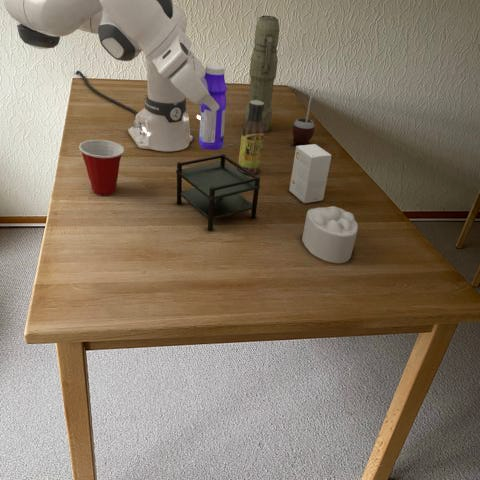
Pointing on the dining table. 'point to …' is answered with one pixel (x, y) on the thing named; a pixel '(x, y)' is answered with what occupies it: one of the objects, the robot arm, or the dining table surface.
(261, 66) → the stone statue
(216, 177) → the tray
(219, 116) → the bottle
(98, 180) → the plastic cup
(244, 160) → the sauce bottle
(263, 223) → the dining table surface
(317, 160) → the small box
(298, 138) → the mate gourd
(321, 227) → the lumpy-topped squat cylinder
